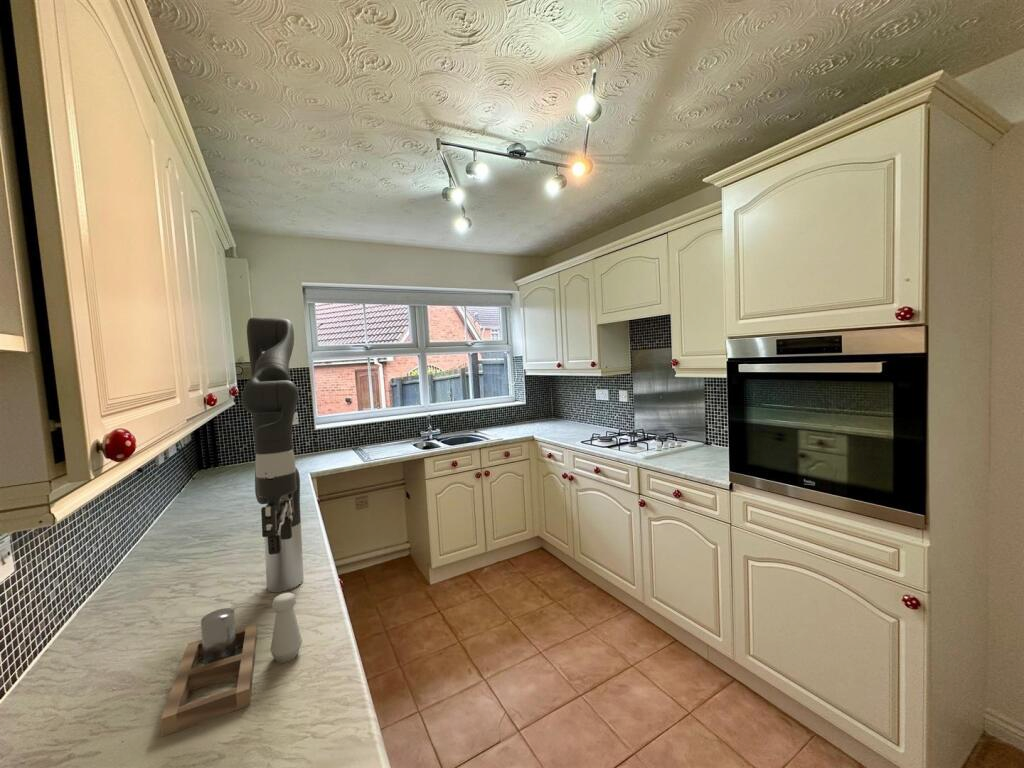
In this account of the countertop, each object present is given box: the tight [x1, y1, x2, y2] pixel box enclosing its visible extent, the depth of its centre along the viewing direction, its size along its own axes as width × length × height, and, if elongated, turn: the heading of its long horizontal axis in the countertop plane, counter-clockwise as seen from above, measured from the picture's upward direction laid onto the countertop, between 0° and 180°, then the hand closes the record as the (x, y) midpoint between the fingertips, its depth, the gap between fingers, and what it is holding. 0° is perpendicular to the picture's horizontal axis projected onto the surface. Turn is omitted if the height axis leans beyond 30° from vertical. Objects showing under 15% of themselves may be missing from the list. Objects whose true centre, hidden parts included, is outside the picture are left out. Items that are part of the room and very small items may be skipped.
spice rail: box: [160, 624, 258, 737], centre depth 81 cm, size 22×12×3 cm, turn 29°
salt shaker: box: [270, 592, 303, 664], centre depth 86 cm, size 6×6×13 cm
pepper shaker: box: [200, 607, 238, 665], centre depth 85 cm, size 6×6×10 cm
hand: (281, 545), depth 90 cm, fingers open, 8 cm apart
